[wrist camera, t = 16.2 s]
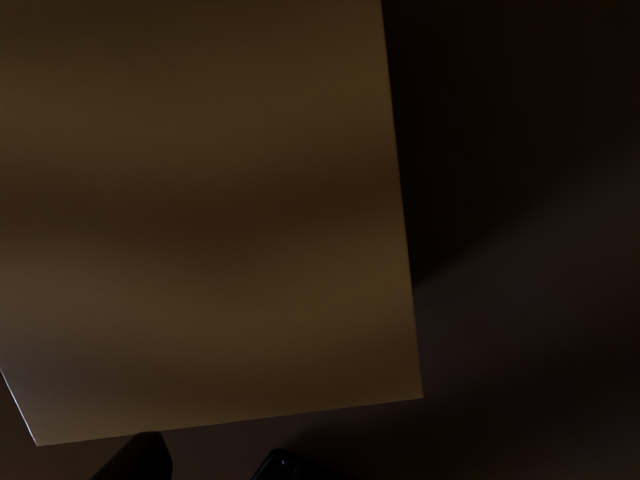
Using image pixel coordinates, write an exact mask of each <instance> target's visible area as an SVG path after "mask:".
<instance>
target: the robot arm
mask: <svg viewBox="0 0 640 480" xmlns="http://www.w3.org/2000/svg"><path fill="white" fill-rule="evenodd" d="M276 458H279V459H281V460H277V459H276ZM172 468H173V466H172V459H171V456H170V454H169V451H168V449H167V446H166V443H165V441H164V438H163V436H162V434H161V433H160V432H159V431H146V432H139V433H137V434H136V435H134V436H133V437H132V438H131V439H130V440H129V441H128V442H127V443H126V444H125V445H124V446H123V447H122V448H121V449H120V450H119V451H118V452H117V453H116V454H115V455H114V456H113V457H112V458H111V459H110V460H109V461H108V462H107V463H106V464H105V465H104V466H103V467H102V468H101V469H100V470H99V471H98V472H97V473H96V474H95V475H94V476H93V477H92V478H91V479H90V480H171V476H172ZM250 480H349V479H347V478H344V477H342V476H340V475H338V474H336V473H333V472H331V471H329V470H327V469H325V468H322V467H320V466H318V465H316V464H314V463H312V462H309V461H307V460H305V459H303V458H301V457H298V456H296V455H294V454H292V453H290V452H288V451H285V450H283V449H274V450H272V451H271V452H270V453H269V454H268V456H267V457H266V459H265V460H264V461H263V463H262V464H261V466H260V467H259V468H258V470H257V471H256V472H255V474H254V475H253V477H252V478H251V479H250Z"/></svg>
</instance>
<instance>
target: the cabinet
mask: <svg viewBox="0 0 640 480" xmlns="http://www.w3.org/2000/svg"><path fill="white" fill-rule="evenodd" d="M0 370H1V372H2V375H3V377H4V379H5V381H6V383H7V385H8V387H9V389H10V391H11V393H12V395H13V397H14V399H15V401H16V403H17V406H18V408H19V410H20V412H21V414H22V416H23V418H24V420H25V422H26V424H27V426H28V428H29V430H30V432H31V435H32V437H33V439H34V441H35V443H36V445H37V446H43V445H51V444H59V443H67V442H75V441H83V440H91V439H98V438H106V437H114V436H122V435H130V434H137V433H139V432H146V431H162V430H170V429H178V428H186V427H194V426H202V425H210V424H218V423H226V422H234V421H242V420H250V419H258V418H266V417H274V416H281V415H289V414H297V413H305V412H313V411H321V410H329V409H337V408H345V407H353V406H361V405H369V404H377V403H385V402H393V401H401V400H409V399H417V398H423V386H422V377H421V368H420V358H419V349H418V339H417V330H416V321H415V311H414V302H413V293H412V283H411V274H410V265H409V255H408V246H407V237H406V227H405V218H404V208H403V199H402V190H401V180H400V171H399V162H398V152H397V143H396V134H395V124H394V115H393V106H392V96H391V87H390V78H389V68H388V59H387V49H386V40H385V31H384V21H383V12H382V3H381V0H0Z"/></svg>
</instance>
